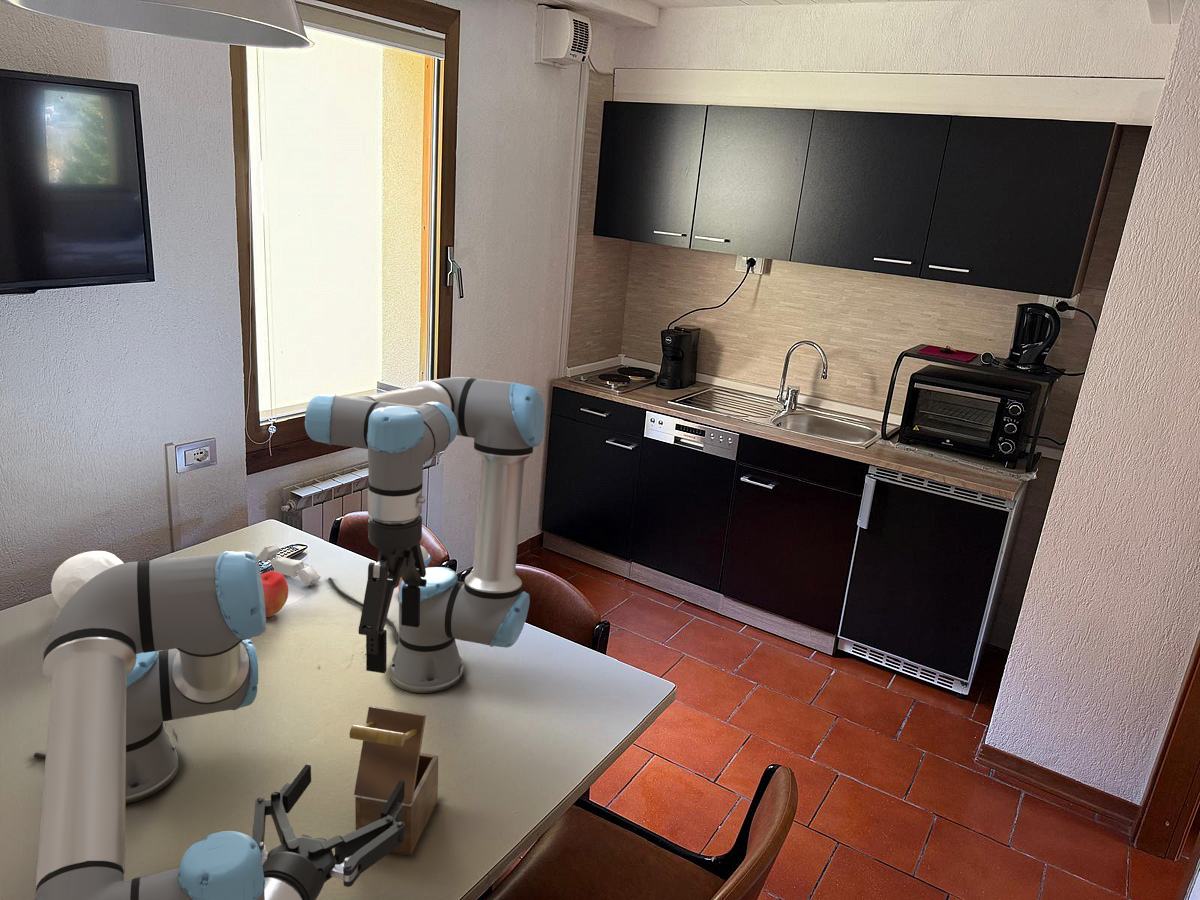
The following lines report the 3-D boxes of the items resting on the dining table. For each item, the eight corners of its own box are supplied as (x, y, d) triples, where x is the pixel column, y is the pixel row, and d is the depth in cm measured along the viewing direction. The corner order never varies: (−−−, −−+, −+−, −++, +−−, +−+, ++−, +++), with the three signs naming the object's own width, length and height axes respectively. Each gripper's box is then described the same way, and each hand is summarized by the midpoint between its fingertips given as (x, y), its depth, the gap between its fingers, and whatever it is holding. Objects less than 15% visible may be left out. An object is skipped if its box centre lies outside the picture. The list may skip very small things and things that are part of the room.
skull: (118, 643, 184) (114, 575, 180) (38, 622, 190) (32, 556, 185) (165, 617, 196) (162, 554, 192) (89, 598, 202) (84, 536, 198)
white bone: (253, 565, 223) (254, 542, 221) (265, 560, 226) (266, 537, 224) (309, 593, 215) (310, 569, 213) (320, 588, 218) (321, 564, 216)
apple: (273, 600, 207) (272, 562, 204) (297, 613, 202) (296, 575, 199) (237, 614, 200) (234, 575, 197) (261, 628, 194) (259, 588, 191)
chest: (386, 792, 147) (387, 746, 144) (437, 801, 146) (438, 755, 143) (355, 846, 135) (355, 797, 132) (410, 856, 134) (411, 807, 131)
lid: (371, 705, 134) (348, 714, 125) (426, 714, 133) (407, 724, 124) (356, 793, 132) (332, 808, 124) (412, 802, 131) (392, 818, 122)
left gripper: (178, 907, 101) (271, 788, 121) (380, 946, 98) (440, 818, 118) (174, 855, 99) (269, 743, 119) (380, 894, 96) (442, 773, 116)
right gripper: (386, 553, 110) (386, 696, 116) (448, 490, 133) (445, 611, 140) (331, 545, 111) (333, 688, 117) (402, 484, 134) (401, 605, 140)
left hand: (355, 780), depth 118 cm, fingers open, 13 cm apart
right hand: (394, 647), depth 128 cm, fingers open, 13 cm apart
